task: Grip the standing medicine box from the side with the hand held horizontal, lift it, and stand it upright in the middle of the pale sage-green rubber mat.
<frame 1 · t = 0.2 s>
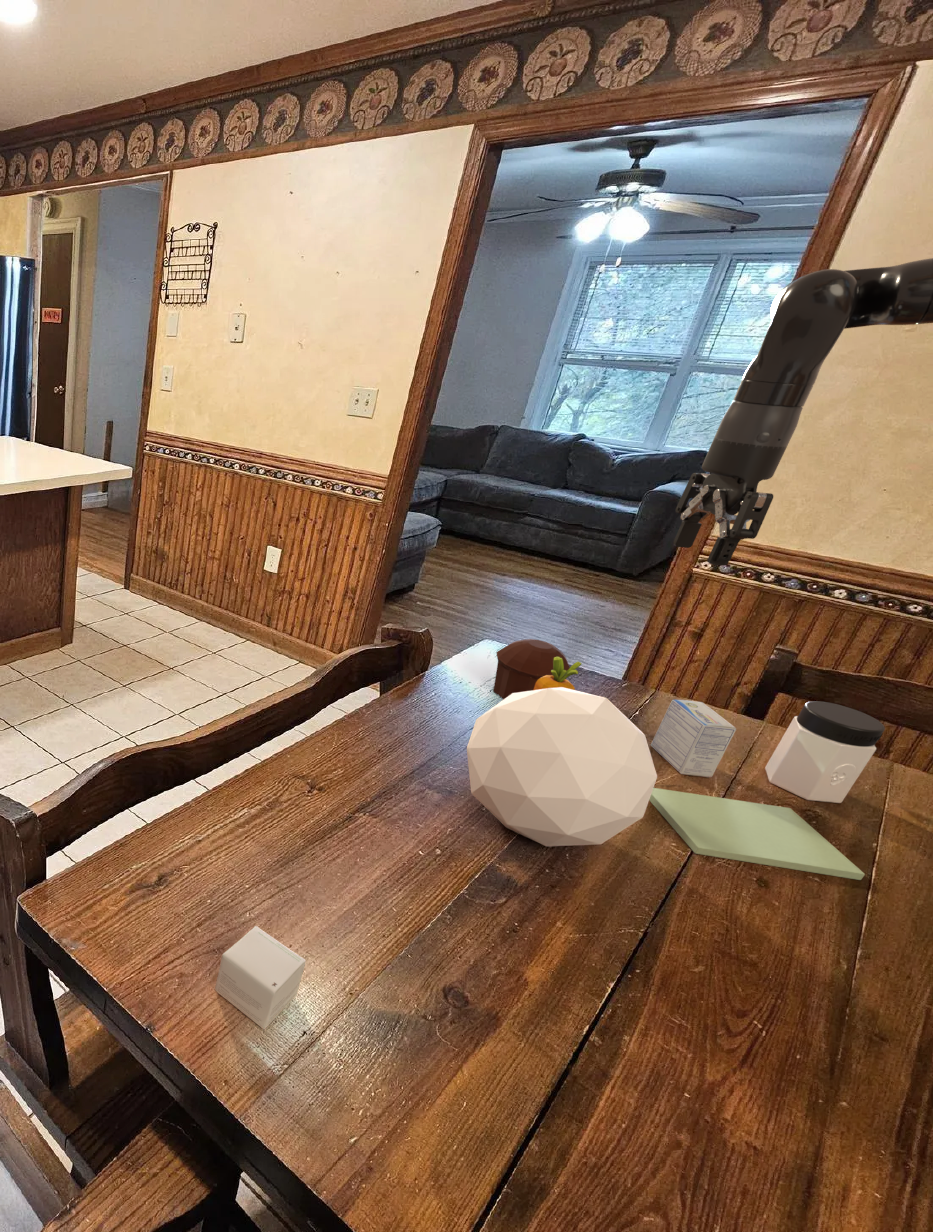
hand: (698, 555, 103), 30 cm above the table, tool pointing down, fingers open, 8 cm apart
ball: (528, 825, 93), on the table
small box: (254, 995, 68), on the table
jar: (800, 786, 105), on the table
mat: (743, 832, 94), on the table
muffin: (520, 696, 126), on the table
medicine box: (678, 762, 109), on the table
carrot: (531, 744, 111), on the table
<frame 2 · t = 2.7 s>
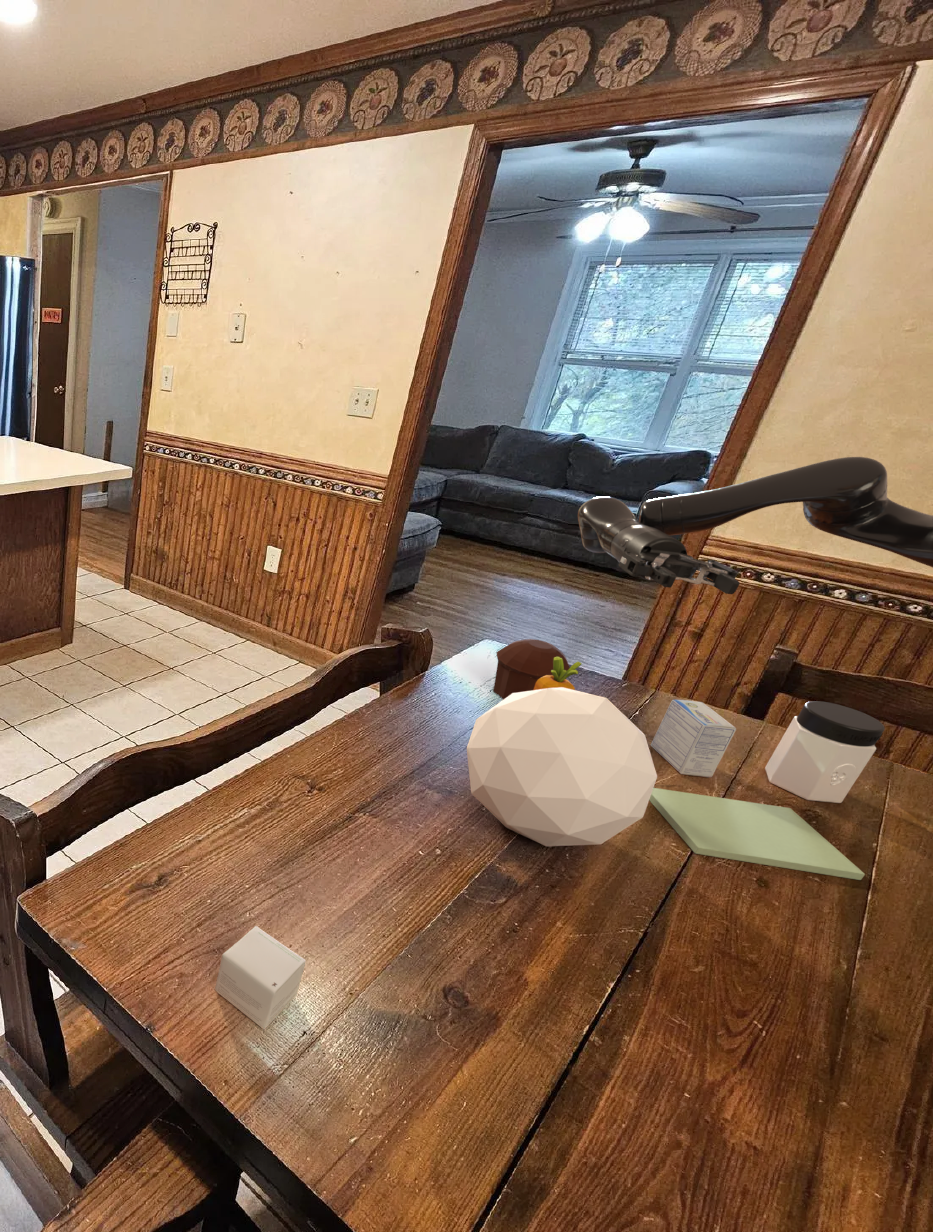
hand: (702, 584, 109), 24 cm above the table, tool horizontal, fingers open, 8 cm apart
nothing on the table moved.
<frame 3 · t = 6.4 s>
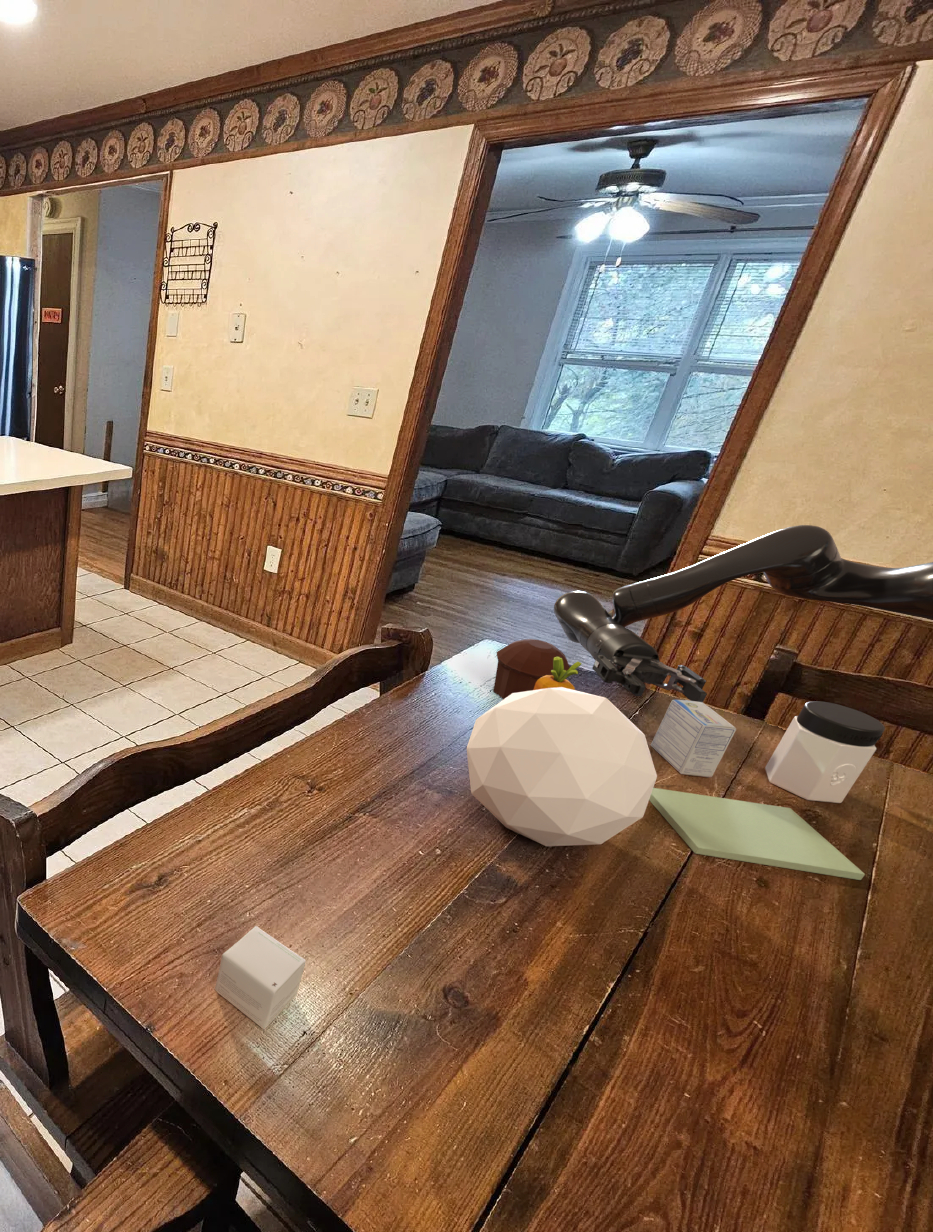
hand: (670, 695, 113), 7 cm above the table, tool horizontal, fingers open, 8 cm apart
nothing on the table moved.
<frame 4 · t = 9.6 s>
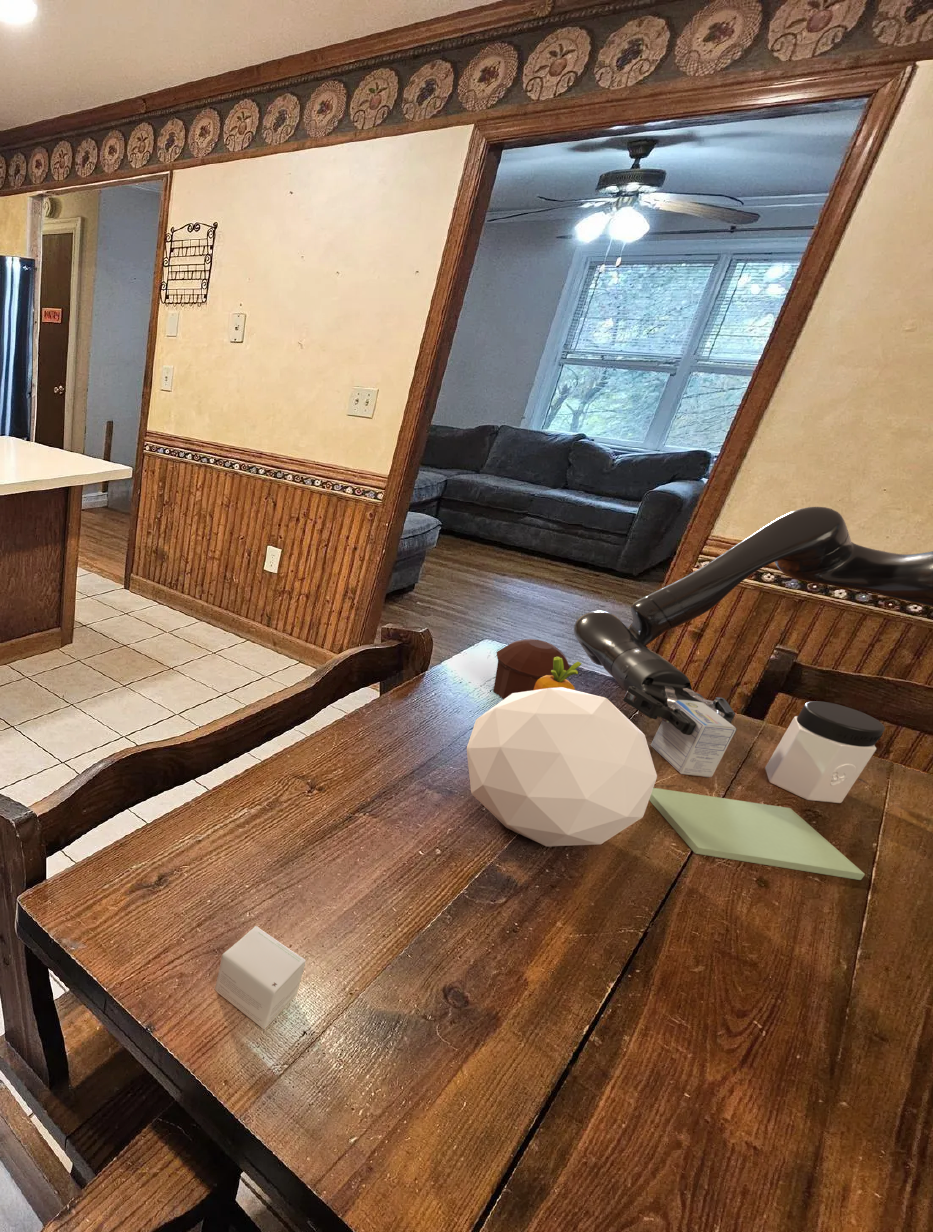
hand: (710, 731, 103), 7 cm above the table, tool horizontal, fingers closed on medicine box, 4 cm apart
medicine box: (678, 762, 109), on the table, touching gripper
everything else where it was.
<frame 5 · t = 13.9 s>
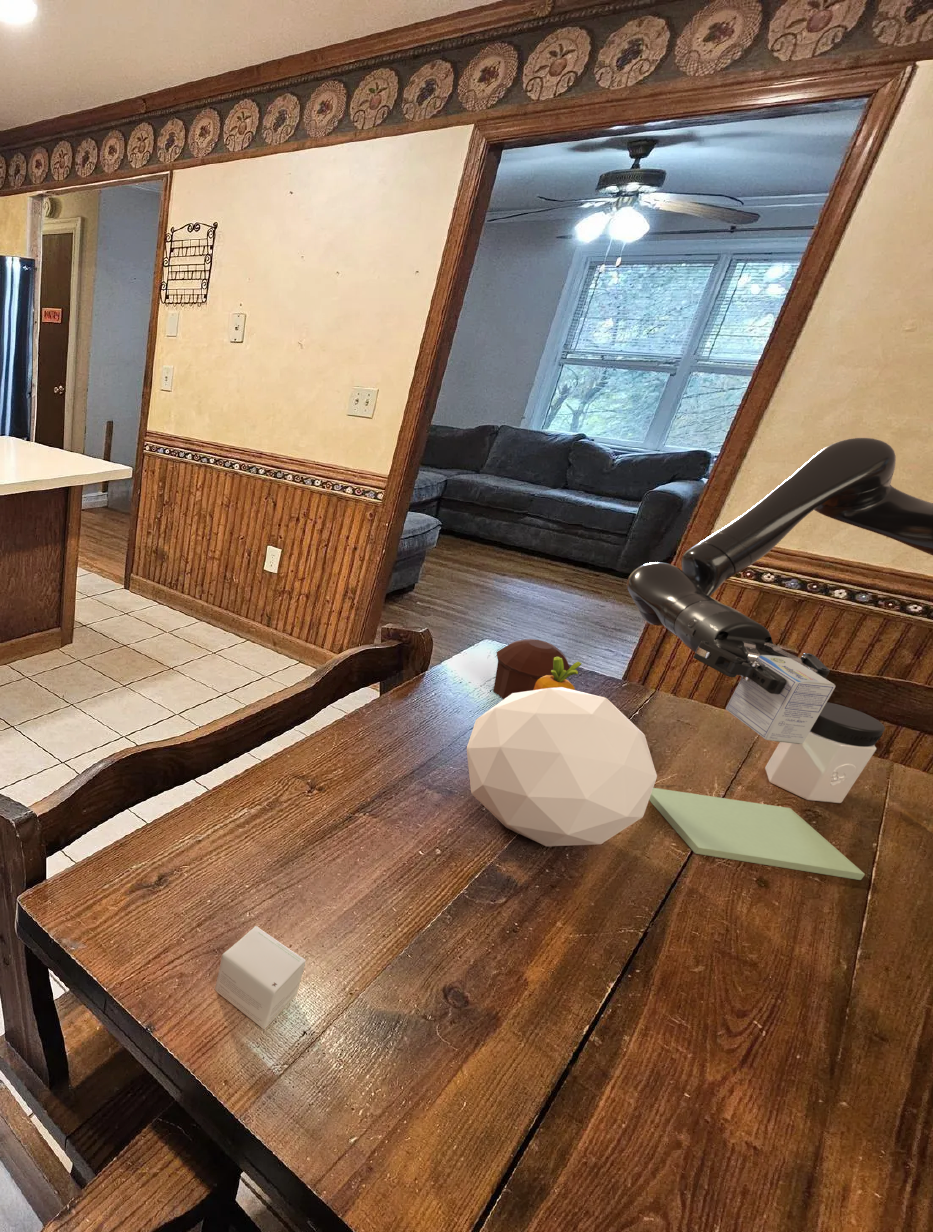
hand: (802, 690, 88), 20 cm above the table, tool horizontal, fingers closed on medicine box, 4 cm apart
medicine box: (760, 728, 94), point 12 cm above the table, touching gripper
everything else where it was.
when the fingers open (8 cm above the table, at t = 18.3 s): medicine box stays where it is, resting on mat.
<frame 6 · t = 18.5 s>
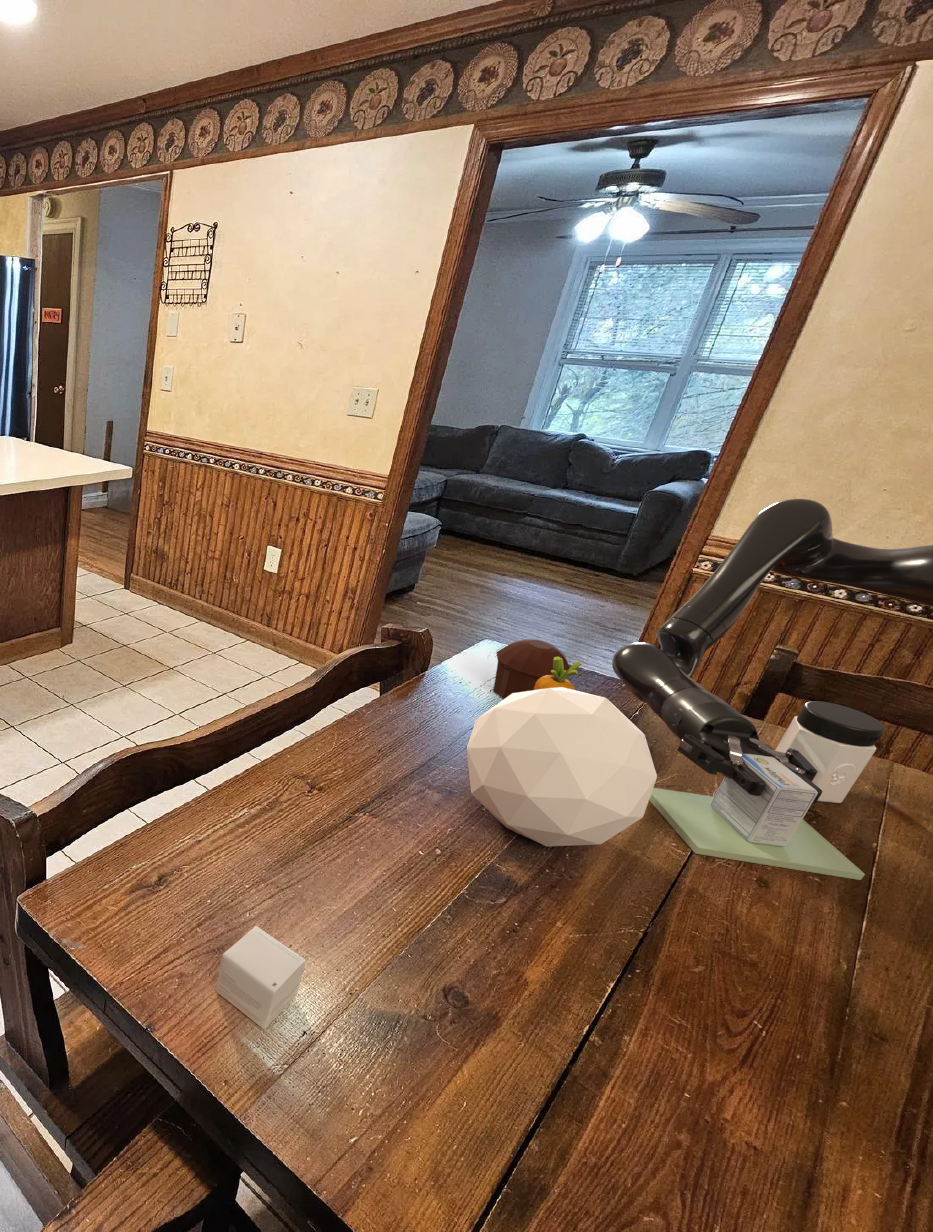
hand: (786, 793, 88), 8 cm above the table, tool horizontal, fingers open, 5 cm apart
medicine box: (744, 827, 94), point 1 cm above the table, touching mat
everything else where it was.
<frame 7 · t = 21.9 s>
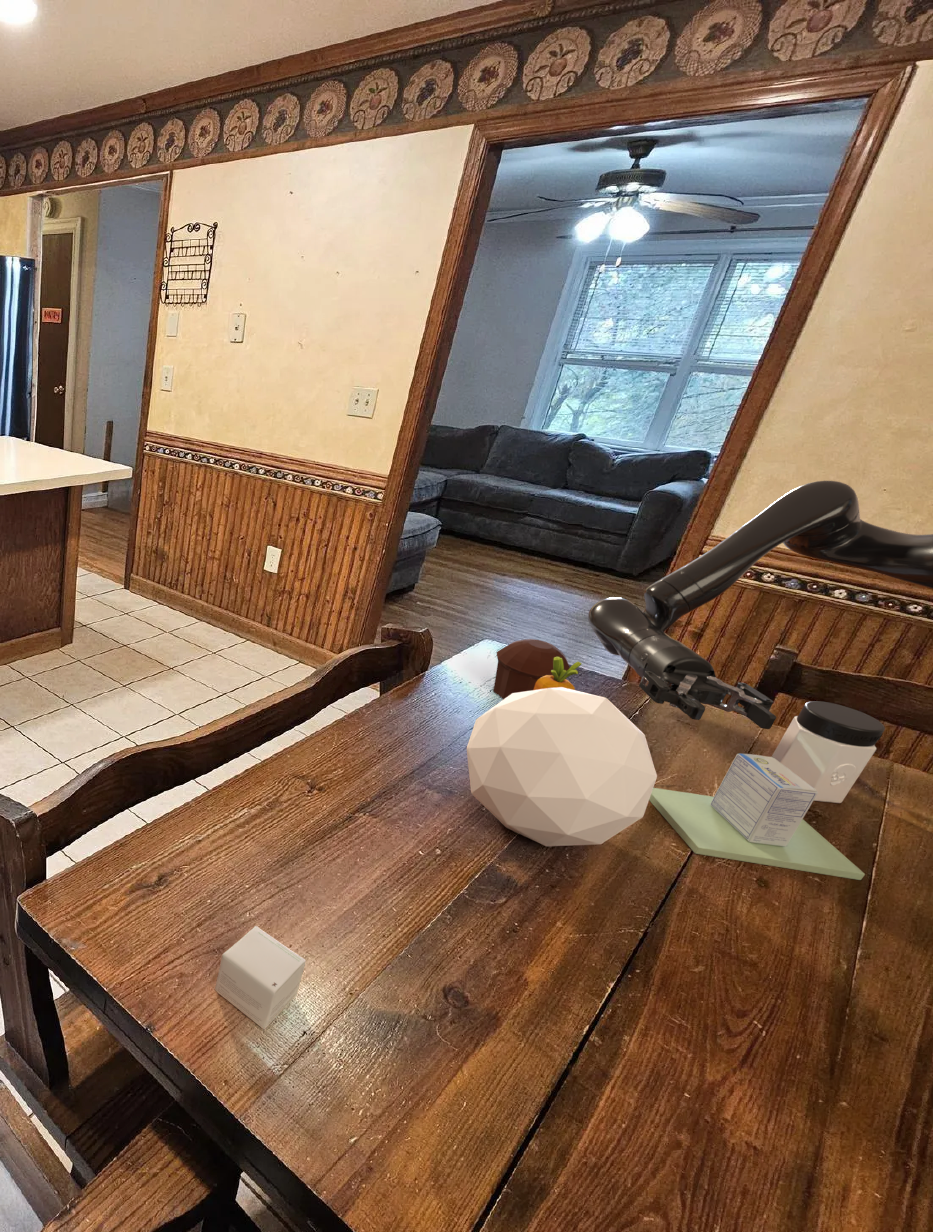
hand: (734, 718, 98), 11 cm above the table, tool horizontal, fingers open, 8 cm apart
nothing on the table moved.
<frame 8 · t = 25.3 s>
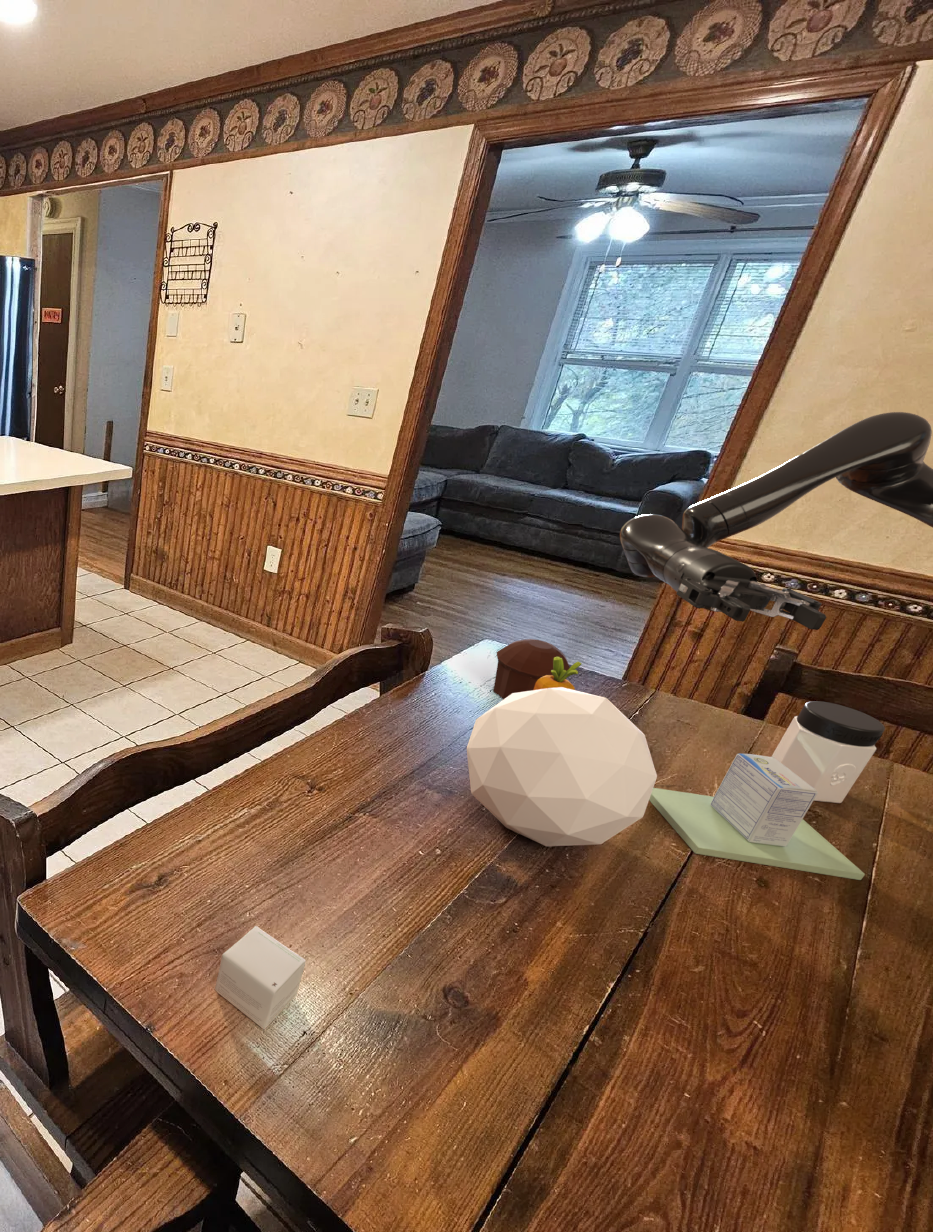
hand: (781, 618, 92), 26 cm above the table, tool horizontal, fingers open, 8 cm apart
nothing on the table moved.
at the end: medicine box inside the target area on the mat (0.2 cm from its centre), point 0.8 cm above the mat's base; medicine box tilted 0°; medicine box touching mat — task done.
